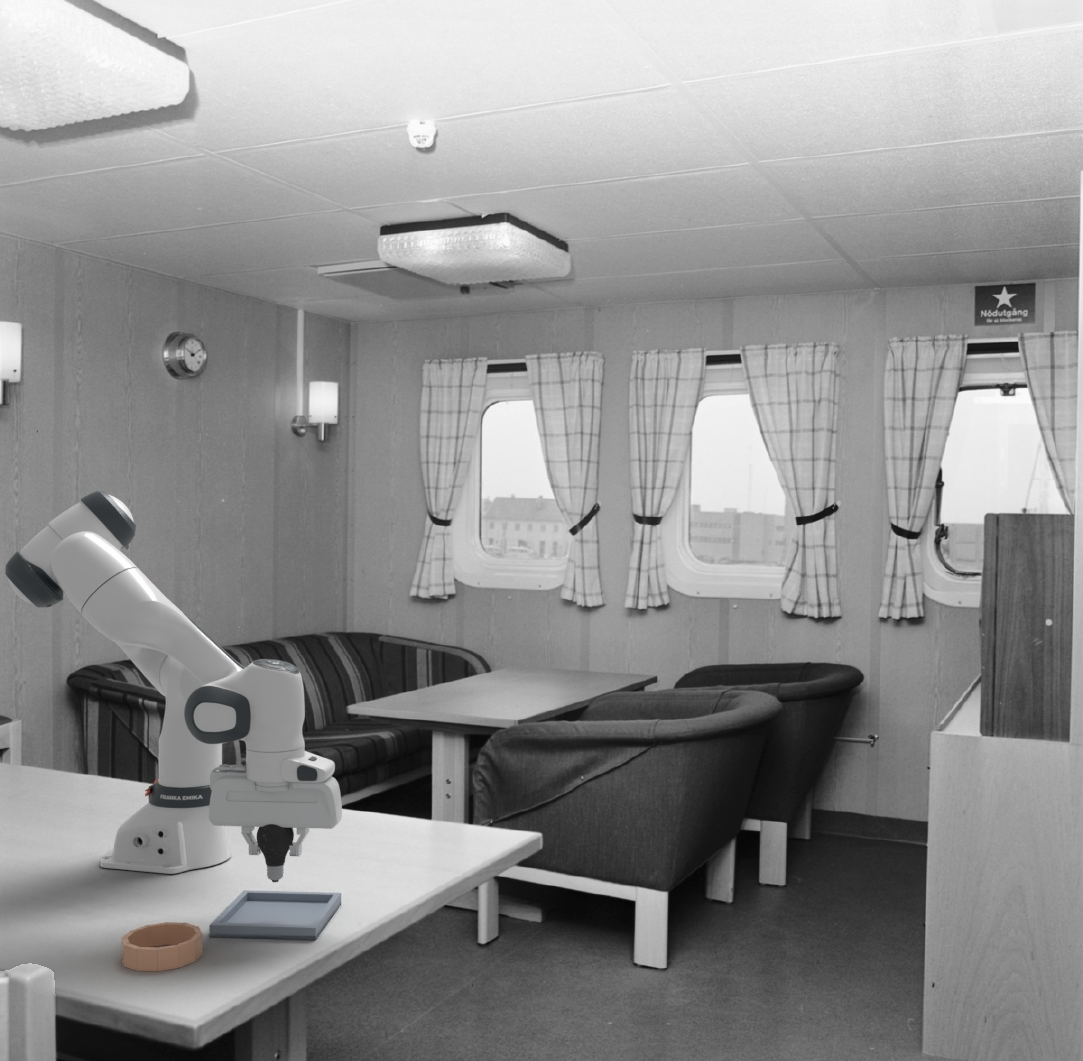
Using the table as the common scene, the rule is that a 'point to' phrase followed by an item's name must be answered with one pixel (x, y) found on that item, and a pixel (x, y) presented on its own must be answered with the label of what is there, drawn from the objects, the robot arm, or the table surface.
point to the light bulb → (274, 848)
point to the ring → (149, 958)
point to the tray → (276, 915)
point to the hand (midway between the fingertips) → (275, 854)
